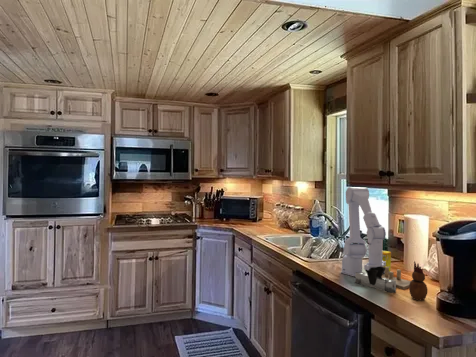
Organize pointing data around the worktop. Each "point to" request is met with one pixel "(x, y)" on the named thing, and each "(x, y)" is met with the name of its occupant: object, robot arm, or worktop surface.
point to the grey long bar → (380, 282)
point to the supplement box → (386, 259)
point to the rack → (399, 282)
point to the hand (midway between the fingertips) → (374, 283)
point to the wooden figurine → (418, 284)
